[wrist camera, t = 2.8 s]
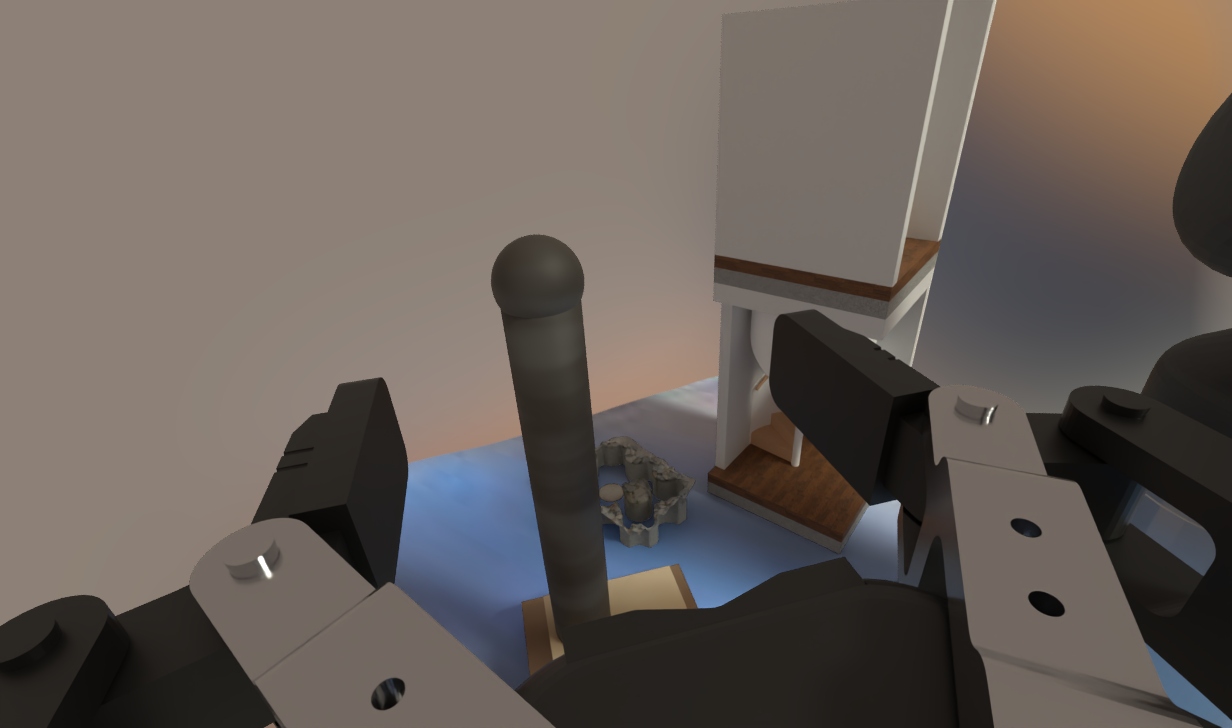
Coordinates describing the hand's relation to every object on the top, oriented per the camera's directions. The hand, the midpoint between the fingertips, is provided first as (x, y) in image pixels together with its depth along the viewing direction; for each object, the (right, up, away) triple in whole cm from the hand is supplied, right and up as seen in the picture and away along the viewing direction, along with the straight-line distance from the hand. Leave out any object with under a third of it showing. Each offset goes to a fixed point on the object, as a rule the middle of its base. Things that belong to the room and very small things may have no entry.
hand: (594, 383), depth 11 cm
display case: (+16, -10, +37) cm, 41 cm away
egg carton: (+1, -12, +36) cm, 38 cm away
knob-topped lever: (+1, -16, +22) cm, 27 cm away
